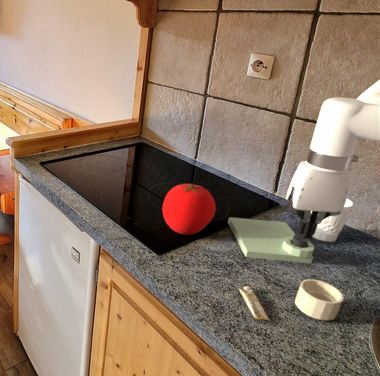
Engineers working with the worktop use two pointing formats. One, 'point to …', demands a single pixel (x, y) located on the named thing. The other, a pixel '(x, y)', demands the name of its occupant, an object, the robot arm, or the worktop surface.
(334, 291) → the bowl
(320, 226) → the white cup
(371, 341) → the worktop surface
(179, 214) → the tomato
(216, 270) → the worktop surface
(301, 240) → the tare button
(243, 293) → the snack bar
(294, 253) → the scale
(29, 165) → the worktop surface
